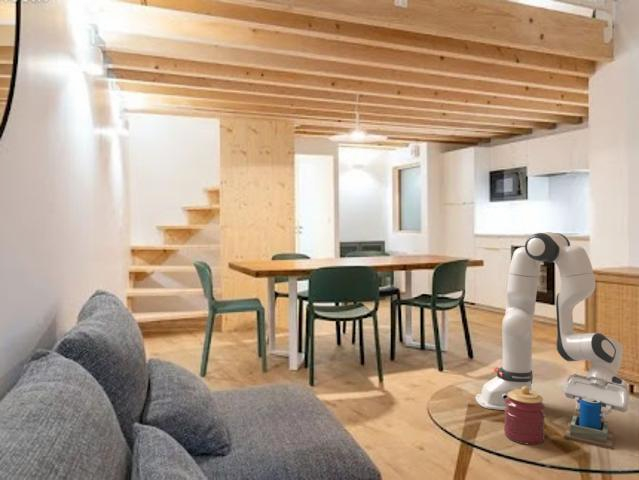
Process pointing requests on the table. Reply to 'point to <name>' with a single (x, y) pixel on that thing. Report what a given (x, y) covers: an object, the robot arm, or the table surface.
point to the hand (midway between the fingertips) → (589, 414)
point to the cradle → (589, 433)
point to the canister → (524, 416)
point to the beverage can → (590, 413)
